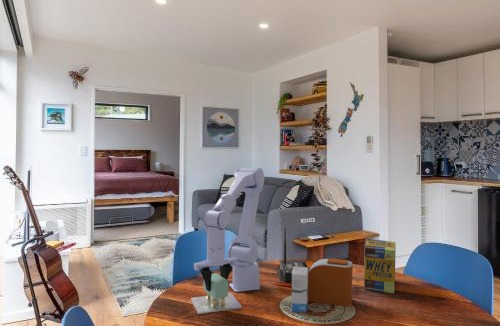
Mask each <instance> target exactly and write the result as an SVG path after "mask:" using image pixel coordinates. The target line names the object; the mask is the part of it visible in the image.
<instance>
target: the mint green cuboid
mask: <svg viewBox="0 0 500 326" xmlns="http://www.w3.org/2000/svg"><path fill="white" fill-rule="evenodd" d="M202 284H203V289H202V290H203V291H204V292H205V293H206V294H207V293H208V294H209V295H210V296H211V297H213V298H214V299H218V298H223V297H228V293H229V281H228V279H227V280H226V279H224V278H223V277H221V276H220V274H219V273H217V272H215V273H212V276H211V291H207V290H206V285H205V282H204V281H203V283H202Z"/></svg>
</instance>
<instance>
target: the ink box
mask: <svg viewBox="0 0 500 326" xmlns="http://www.w3.org/2000/svg"><path fill="white" fill-rule="evenodd" d="M308 304H309V302H308V268H307V267H294V268H293V271H292V282H291V311H292V312H295V313H296V312H297V313H308Z"/></svg>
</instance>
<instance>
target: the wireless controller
mask: <svg viewBox="0 0 500 326" xmlns="http://www.w3.org/2000/svg"><path fill="white" fill-rule="evenodd" d="M283 237H284V239H283V260H279V269H276V270H275V271H276V274H277V276H278V280H279V283H292V271H293V268H294V267H307V268H308V272H309V270H310V268H309V266H308V265H307V263H306V261H305V260H287V227H284V236H283Z"/></svg>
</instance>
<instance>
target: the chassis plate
mask: <svg viewBox="0 0 500 326" xmlns="http://www.w3.org/2000/svg"><path fill="white" fill-rule="evenodd" d="M212 299H213V297H211V296H210V299H207V295H203V296H196V297H195V296H194V297H190V301H191V302H192V305H193V307H194V309H195V311H196V313H197V314H198V315H203V314H210V313H211V314H212V313H216V312H217V313H218V312H223V311H231V310H232V311H233V310H238V309H242V308H243V305H241V303H240V302H239V301H238V299H237V298H236V297H235V296H234V295H233V294H232V293H231V292H228V297H225V306H221V298H218V299H216V307H212Z"/></svg>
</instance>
